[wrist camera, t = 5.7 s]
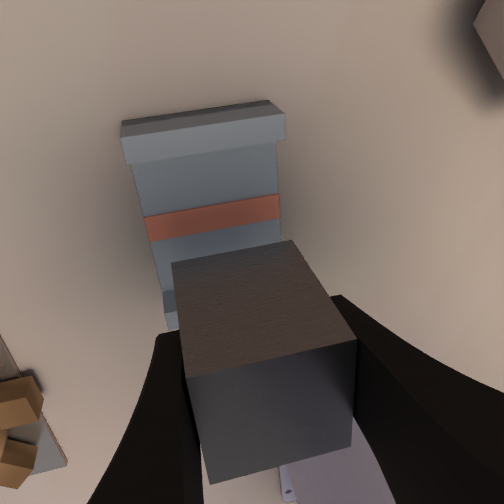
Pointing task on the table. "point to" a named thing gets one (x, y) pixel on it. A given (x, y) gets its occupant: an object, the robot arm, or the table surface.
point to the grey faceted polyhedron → (492, 30)
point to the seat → (205, 183)
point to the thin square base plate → (32, 425)
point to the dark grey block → (263, 359)
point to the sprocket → (11, 415)
